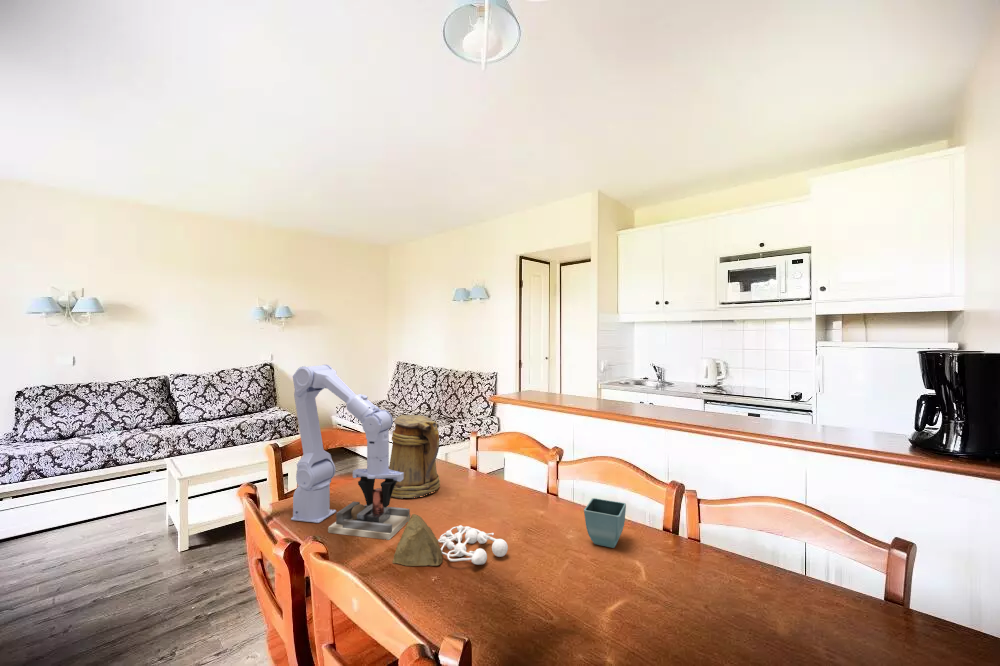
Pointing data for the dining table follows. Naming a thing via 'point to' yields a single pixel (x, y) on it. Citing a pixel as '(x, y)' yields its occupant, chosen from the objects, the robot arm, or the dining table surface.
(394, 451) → the tankard
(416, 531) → the rock
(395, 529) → the base
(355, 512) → the walnut
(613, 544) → the flower pot
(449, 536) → the white knotted ball cord
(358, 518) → the sliding jaw
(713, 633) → the dining table surface
